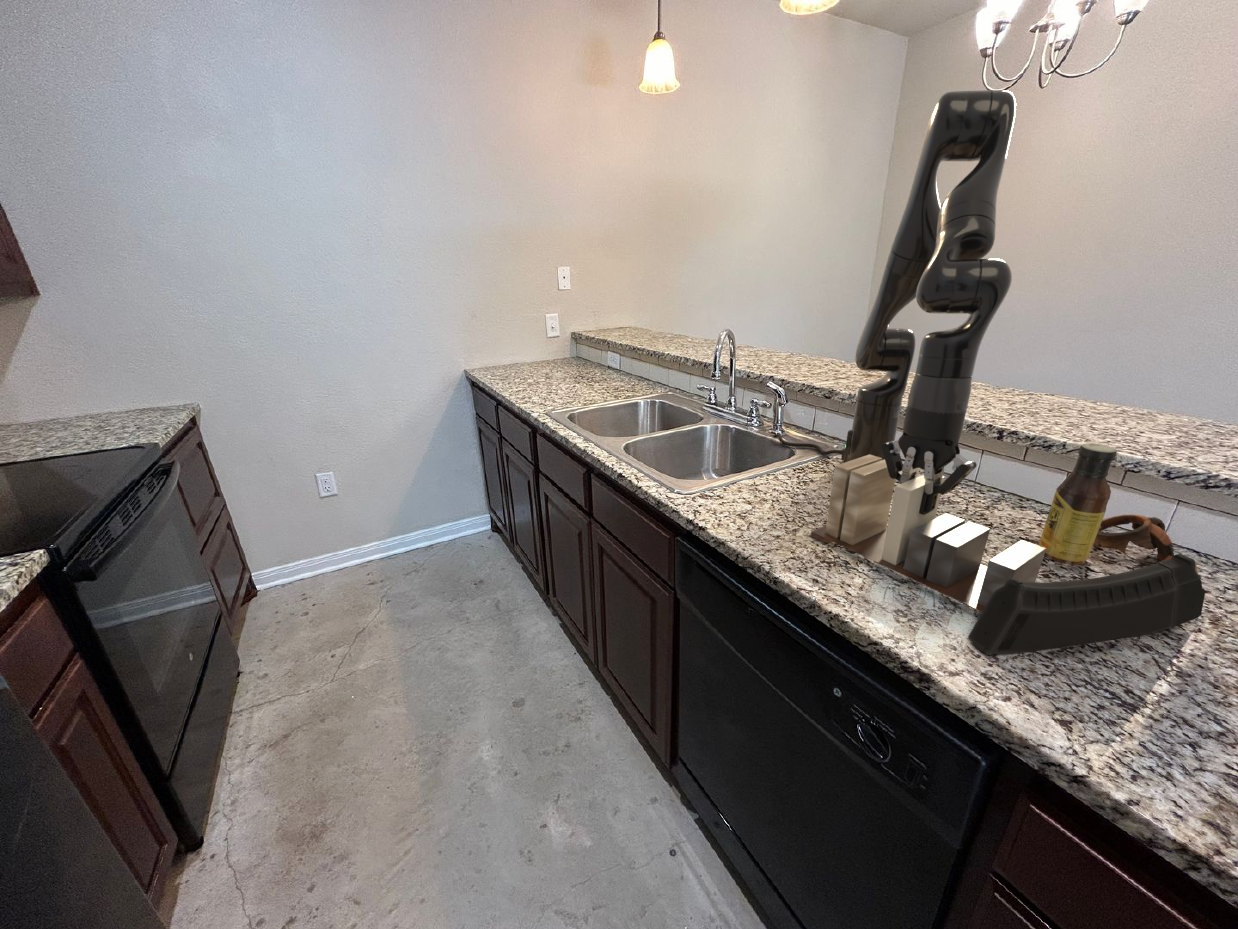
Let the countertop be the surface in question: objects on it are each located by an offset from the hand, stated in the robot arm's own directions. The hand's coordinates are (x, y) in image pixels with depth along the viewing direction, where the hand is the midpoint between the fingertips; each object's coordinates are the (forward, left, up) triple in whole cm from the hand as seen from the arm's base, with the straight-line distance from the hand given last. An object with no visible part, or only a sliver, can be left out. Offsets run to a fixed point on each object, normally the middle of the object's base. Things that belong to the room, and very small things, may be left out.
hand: (914, 509), depth 80 cm
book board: (+2, 0, -9) cm, 9 cm away
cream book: (0, 0, -8) cm, 8 cm away
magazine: (+23, -1, -9) cm, 25 cm away
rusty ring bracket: (+20, +31, -9) cm, 38 cm away
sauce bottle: (+14, +20, -9) cm, 26 cm away
